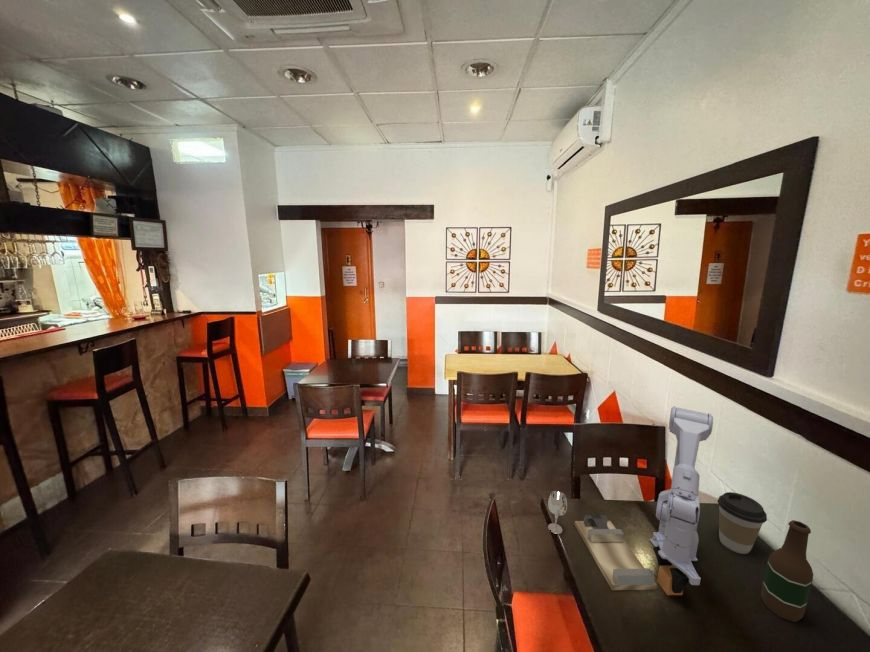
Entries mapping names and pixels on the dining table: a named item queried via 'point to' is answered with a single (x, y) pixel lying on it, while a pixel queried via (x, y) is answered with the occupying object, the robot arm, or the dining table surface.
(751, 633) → the dining table surface
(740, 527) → the coffee cup
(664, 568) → the orange block
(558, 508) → the wineglass
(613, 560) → the vise bed
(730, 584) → the dining table surface
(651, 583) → the fixed jaw
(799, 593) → the beer bottle
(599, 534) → the moving jaw
